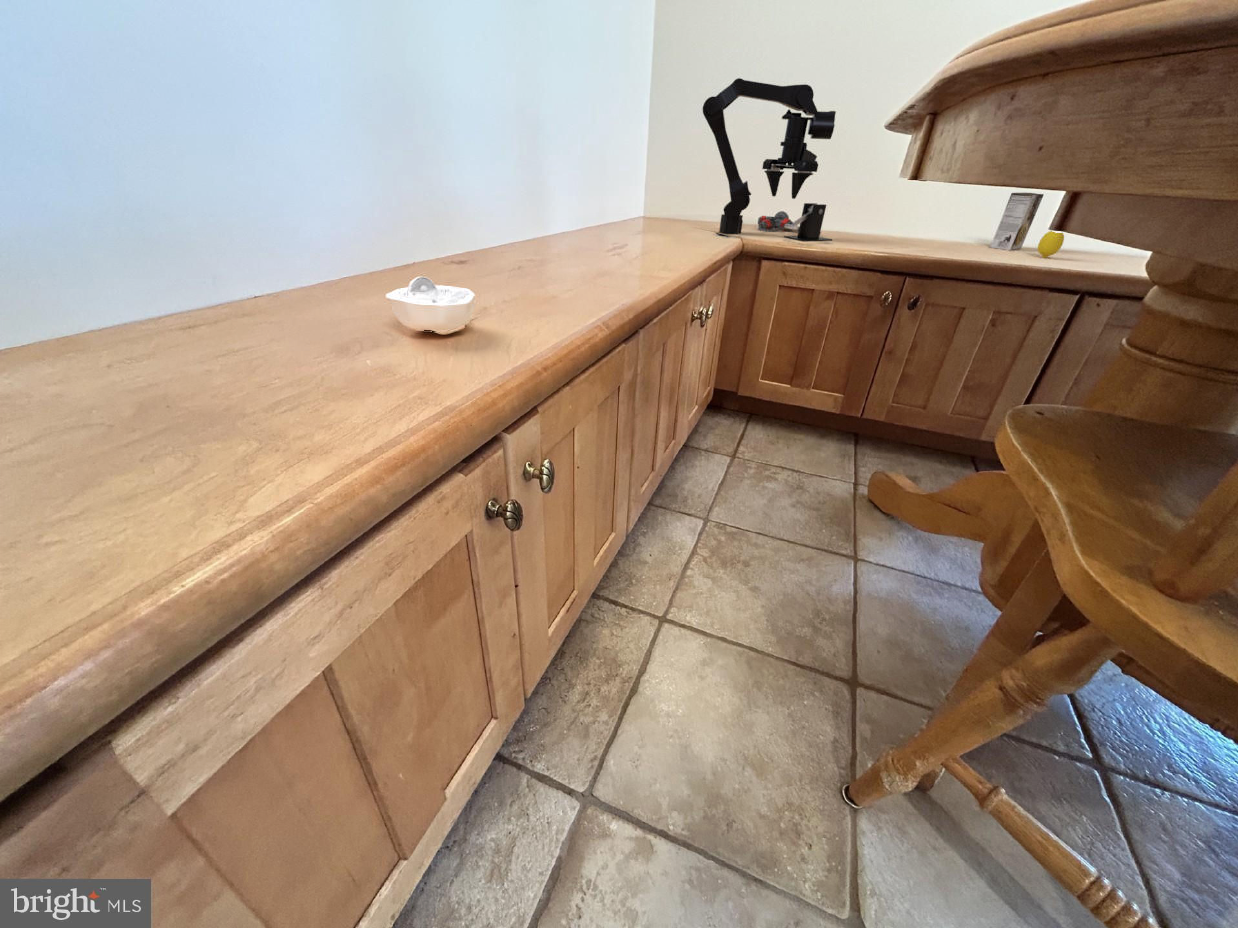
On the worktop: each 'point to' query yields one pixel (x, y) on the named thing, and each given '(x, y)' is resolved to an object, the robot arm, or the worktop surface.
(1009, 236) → the coffee box
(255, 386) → the worktop surface
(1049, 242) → the lemon
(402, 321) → the cell model
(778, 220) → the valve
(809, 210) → the tap lever
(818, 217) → the tap bracket
